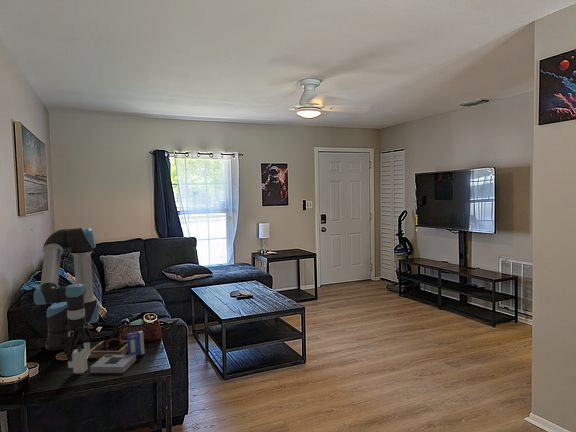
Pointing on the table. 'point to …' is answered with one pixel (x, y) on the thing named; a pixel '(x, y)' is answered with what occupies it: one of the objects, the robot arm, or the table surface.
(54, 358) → the table surface
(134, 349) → the walkman
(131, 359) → the socket plate
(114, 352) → the mug frame
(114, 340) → the pottery mug
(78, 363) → the plug
